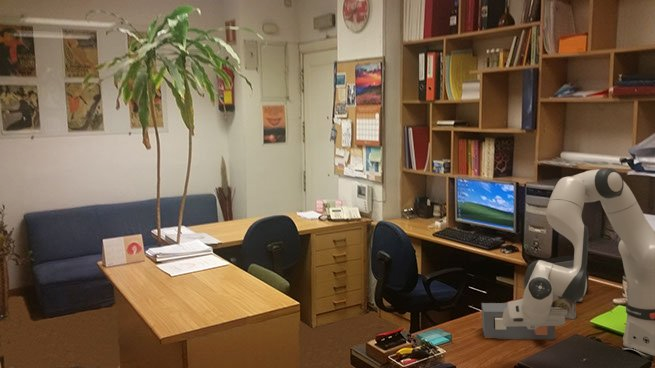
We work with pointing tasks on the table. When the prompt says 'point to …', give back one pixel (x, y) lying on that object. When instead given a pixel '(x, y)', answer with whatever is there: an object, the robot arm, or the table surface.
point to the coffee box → (565, 306)
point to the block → (511, 332)
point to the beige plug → (499, 323)
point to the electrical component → (563, 264)
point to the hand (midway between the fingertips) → (531, 327)
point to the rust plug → (541, 330)
